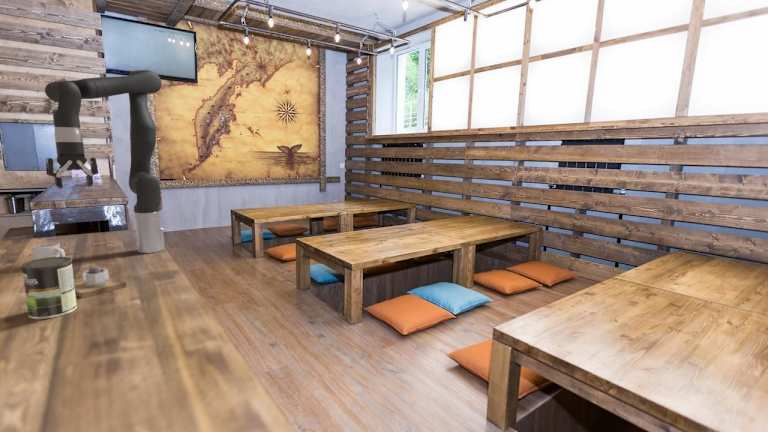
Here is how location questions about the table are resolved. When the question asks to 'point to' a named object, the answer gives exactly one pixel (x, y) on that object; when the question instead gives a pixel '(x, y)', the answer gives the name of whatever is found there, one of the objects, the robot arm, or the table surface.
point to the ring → (95, 278)
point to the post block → (89, 291)
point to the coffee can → (49, 287)
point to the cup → (47, 250)
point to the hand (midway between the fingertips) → (75, 187)
